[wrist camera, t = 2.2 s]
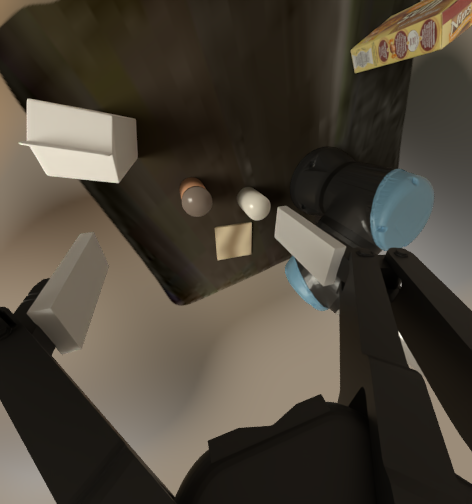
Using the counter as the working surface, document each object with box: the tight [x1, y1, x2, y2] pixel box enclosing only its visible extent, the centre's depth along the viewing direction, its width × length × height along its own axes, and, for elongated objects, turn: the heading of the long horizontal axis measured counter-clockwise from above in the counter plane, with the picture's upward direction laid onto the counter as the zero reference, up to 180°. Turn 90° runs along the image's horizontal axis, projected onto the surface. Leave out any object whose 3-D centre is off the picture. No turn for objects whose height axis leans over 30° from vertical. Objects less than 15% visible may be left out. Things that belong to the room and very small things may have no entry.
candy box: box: [351, 0, 472, 73], centre depth 31 cm, size 9×4×15 cm, turn 125°
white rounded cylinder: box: [237, 187, 271, 220], centre depth 43 cm, size 5×5×7 cm
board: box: [215, 222, 252, 260], centre depth 51 cm, size 9×9×1 cm
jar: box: [180, 177, 212, 217], centre depth 38 cm, size 5×5×8 cm
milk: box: [19, 99, 138, 183], centre depth 25 cm, size 6×6×22 cm
